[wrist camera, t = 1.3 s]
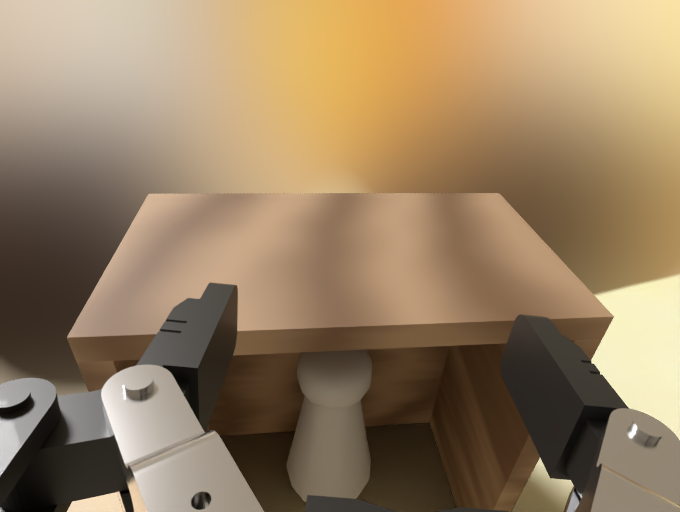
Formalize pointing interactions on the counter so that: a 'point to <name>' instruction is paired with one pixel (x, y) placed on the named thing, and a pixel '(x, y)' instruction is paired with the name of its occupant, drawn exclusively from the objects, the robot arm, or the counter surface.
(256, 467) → the counter surface
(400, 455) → the counter surface
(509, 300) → the cubby
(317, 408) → the salt shaker
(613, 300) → the counter surface
